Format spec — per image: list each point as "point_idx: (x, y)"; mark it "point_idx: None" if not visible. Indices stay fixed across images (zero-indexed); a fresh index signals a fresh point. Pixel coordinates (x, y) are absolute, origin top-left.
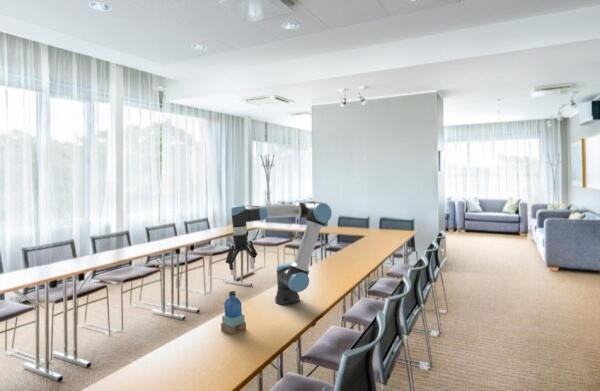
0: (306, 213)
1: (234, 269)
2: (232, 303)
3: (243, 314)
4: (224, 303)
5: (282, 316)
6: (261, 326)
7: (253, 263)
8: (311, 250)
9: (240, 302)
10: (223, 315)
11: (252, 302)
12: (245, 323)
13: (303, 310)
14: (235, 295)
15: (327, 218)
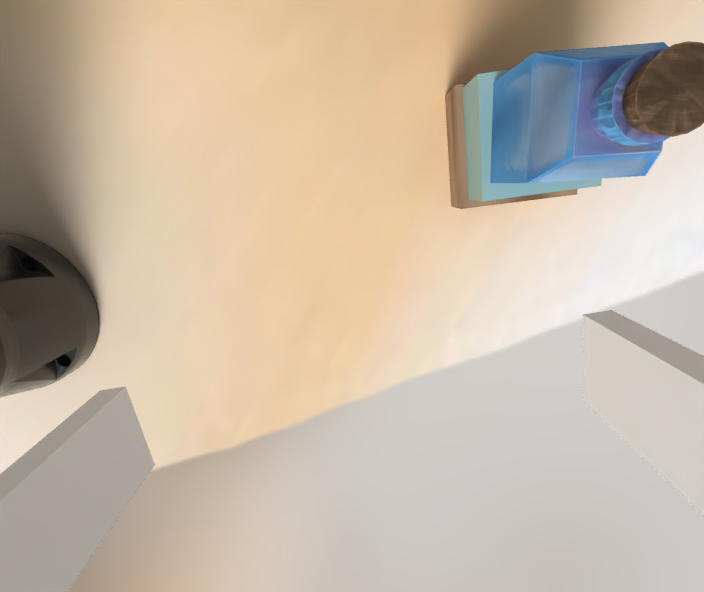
0: None
1: (699, 369)
2: (648, 47)
3: (479, 81)
4: (645, 173)
5: (167, 108)
6: (352, 62)
7: (24, 474)
8: None
9: (544, 52)
10: (592, 181)
11: (211, 426)
12: (456, 86)
13: (3, 94)
14: (629, 61)
15: None
